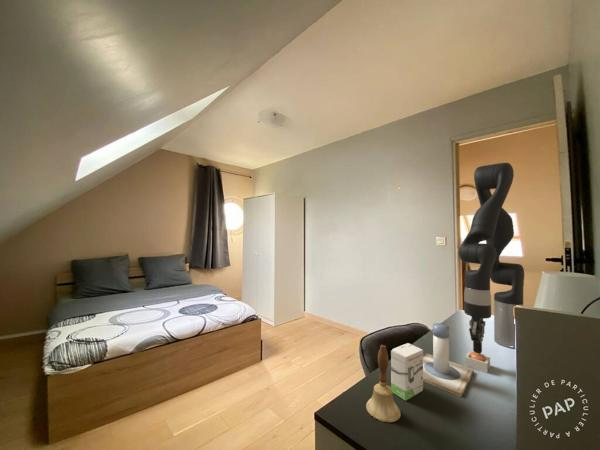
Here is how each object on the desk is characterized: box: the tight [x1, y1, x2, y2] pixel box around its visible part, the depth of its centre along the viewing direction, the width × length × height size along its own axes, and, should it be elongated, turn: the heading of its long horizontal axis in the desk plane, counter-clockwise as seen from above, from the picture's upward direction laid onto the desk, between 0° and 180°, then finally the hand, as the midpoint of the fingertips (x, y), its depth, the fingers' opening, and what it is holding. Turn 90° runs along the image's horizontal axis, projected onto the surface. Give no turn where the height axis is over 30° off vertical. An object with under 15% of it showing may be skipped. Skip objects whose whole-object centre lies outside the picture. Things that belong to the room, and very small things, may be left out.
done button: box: [470, 351, 486, 362], centre depth 83 cm, size 4×4×2 cm
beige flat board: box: [423, 353, 474, 398], centre depth 78 cm, size 17×14×1 cm
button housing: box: [464, 350, 491, 374], centre depth 83 cm, size 6×6×3 cm
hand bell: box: [365, 344, 402, 423], centre depth 62 cm, size 8×8×16 cm
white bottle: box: [432, 322, 450, 374], centre depth 78 cm, size 5×5×14 cm
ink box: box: [390, 342, 424, 402], centre depth 69 cm, size 9×5×12 cm, turn 123°
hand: (477, 352), depth 83 cm, fingers closed
